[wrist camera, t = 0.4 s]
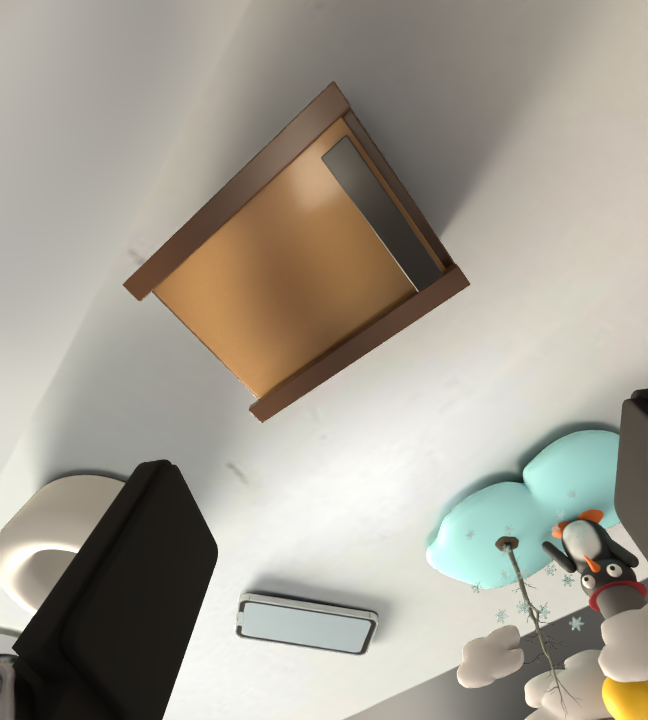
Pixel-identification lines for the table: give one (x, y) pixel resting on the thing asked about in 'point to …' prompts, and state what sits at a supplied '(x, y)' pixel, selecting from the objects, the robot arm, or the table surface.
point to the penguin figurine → (536, 550)
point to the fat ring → (51, 535)
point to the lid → (302, 265)
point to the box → (246, 188)
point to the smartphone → (305, 624)
